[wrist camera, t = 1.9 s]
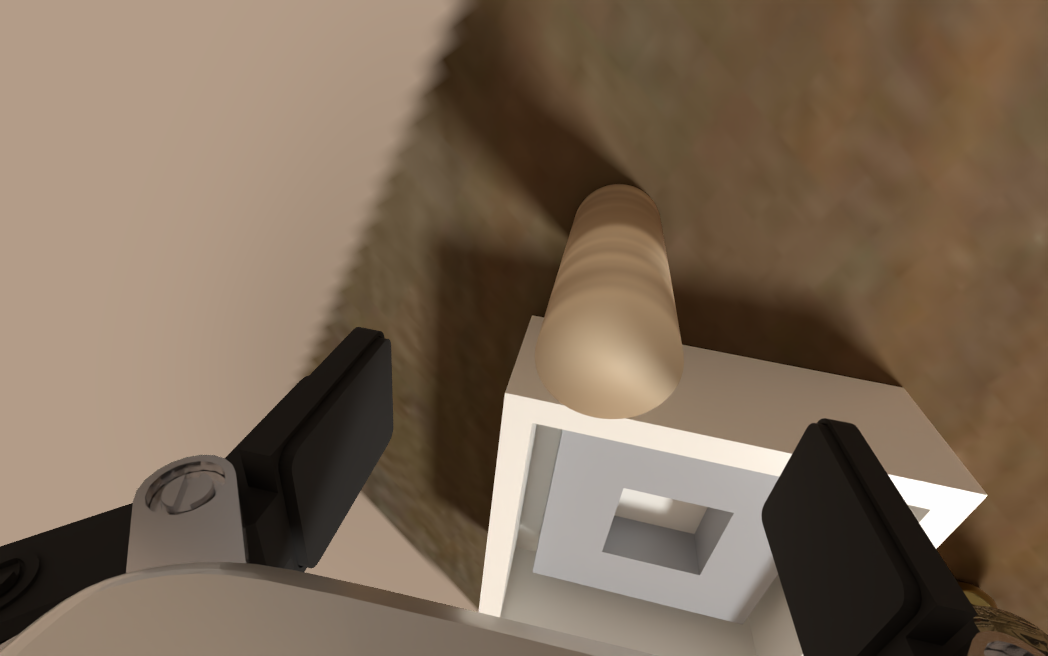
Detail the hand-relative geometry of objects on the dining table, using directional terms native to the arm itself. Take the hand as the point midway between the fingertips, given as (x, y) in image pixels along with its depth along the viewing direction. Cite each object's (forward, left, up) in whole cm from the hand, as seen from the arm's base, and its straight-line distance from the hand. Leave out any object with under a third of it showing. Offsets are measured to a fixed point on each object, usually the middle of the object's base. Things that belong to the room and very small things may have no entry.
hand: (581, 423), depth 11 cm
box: (+13, +6, -12) cm, 19 cm away
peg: (-1, 0, -12) cm, 12 cm away
